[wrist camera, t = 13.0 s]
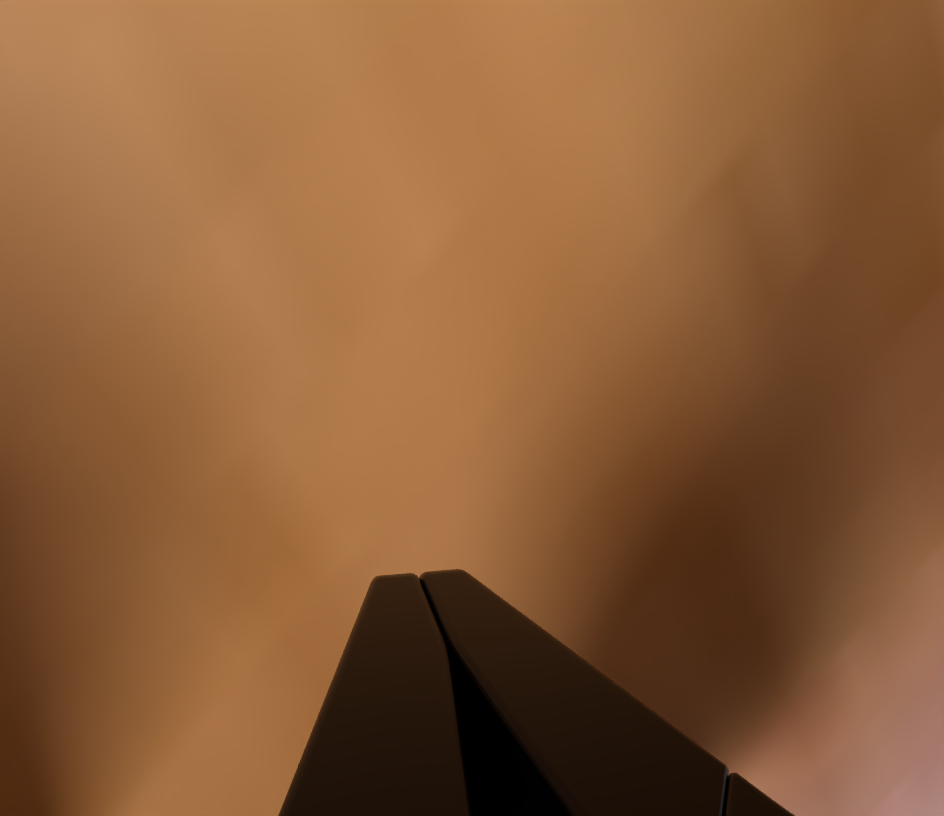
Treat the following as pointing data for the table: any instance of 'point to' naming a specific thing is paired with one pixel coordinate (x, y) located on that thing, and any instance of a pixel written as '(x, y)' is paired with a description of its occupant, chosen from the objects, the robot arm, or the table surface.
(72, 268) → the table surface
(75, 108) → the table surface
